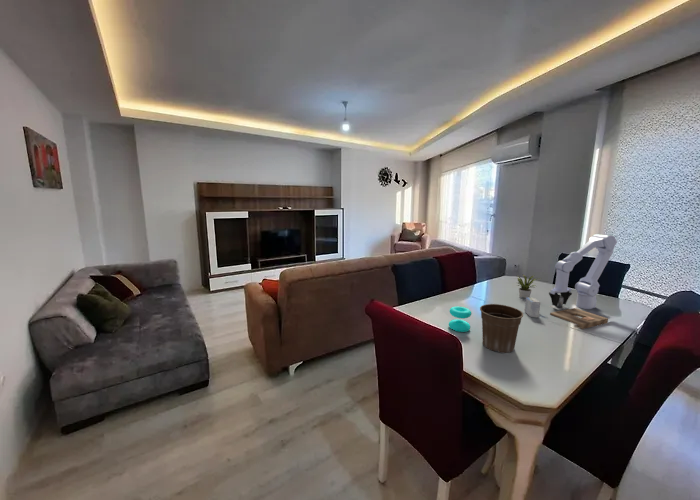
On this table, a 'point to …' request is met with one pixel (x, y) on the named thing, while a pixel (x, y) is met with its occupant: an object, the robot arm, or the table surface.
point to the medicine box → (532, 307)
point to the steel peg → (560, 302)
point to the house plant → (525, 287)
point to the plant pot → (500, 326)
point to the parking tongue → (559, 308)
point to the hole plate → (583, 323)
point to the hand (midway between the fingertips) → (558, 304)
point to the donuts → (457, 323)
